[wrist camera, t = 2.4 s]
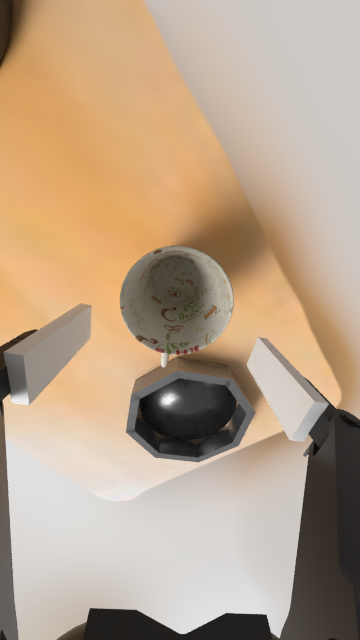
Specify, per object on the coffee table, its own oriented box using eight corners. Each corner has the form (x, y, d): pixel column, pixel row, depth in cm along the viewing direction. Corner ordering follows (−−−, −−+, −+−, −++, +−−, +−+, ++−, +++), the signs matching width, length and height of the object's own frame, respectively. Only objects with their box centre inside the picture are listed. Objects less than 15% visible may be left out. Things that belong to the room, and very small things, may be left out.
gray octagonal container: (140, 350, 27) (136, 363, 24) (260, 370, 29) (269, 384, 26) (126, 436, 34) (122, 453, 31) (224, 447, 36) (228, 465, 33)
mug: (216, 249, 22) (247, 255, 12) (198, 343, 26) (210, 398, 17) (144, 238, 21) (119, 237, 12) (138, 336, 26) (118, 390, 17)
